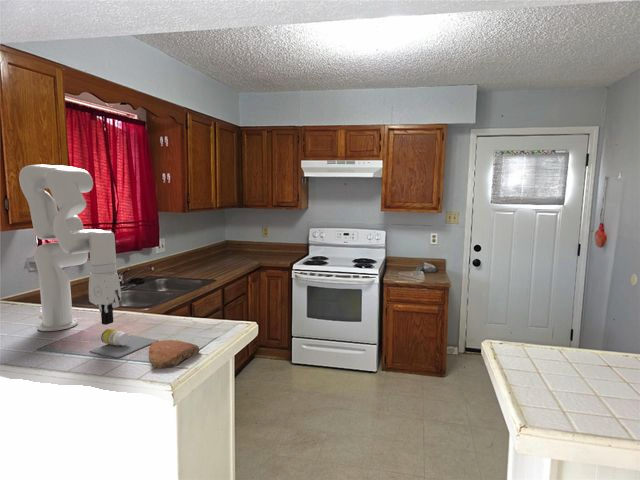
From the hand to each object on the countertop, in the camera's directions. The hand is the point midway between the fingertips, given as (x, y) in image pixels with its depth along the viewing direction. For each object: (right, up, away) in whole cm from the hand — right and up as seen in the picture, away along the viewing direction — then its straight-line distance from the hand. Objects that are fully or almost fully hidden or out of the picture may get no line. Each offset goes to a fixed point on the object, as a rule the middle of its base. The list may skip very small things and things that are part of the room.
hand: (107, 323), depth 138 cm
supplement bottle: (0, -4, 0) cm, 4 cm away
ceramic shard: (+24, -9, -12) cm, 28 cm away
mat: (+7, -7, -2) cm, 10 cm away
